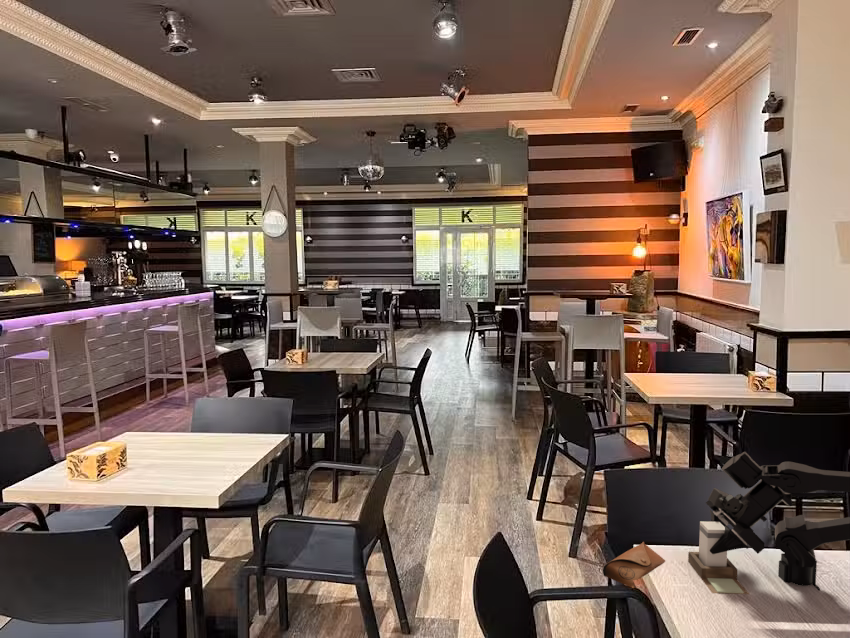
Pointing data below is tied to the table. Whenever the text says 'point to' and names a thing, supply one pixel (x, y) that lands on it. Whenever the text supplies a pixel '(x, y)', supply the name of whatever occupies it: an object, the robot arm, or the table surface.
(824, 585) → the table surface
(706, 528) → the cream square block
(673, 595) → the table surface
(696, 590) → the table surface
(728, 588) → the green mat
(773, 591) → the table surface
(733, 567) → the brown wooden tray
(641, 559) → the sunglasses case
